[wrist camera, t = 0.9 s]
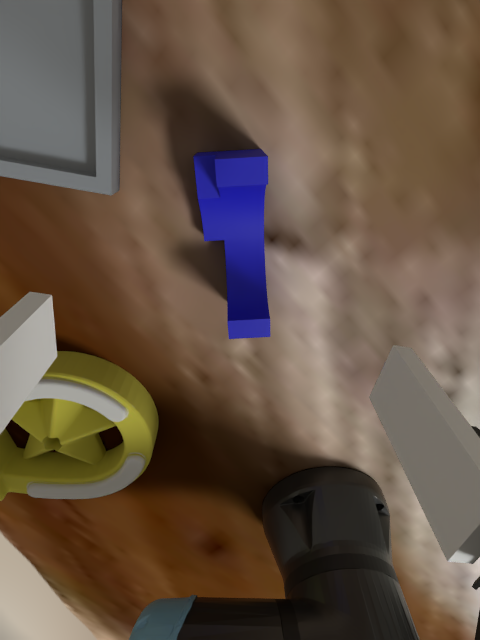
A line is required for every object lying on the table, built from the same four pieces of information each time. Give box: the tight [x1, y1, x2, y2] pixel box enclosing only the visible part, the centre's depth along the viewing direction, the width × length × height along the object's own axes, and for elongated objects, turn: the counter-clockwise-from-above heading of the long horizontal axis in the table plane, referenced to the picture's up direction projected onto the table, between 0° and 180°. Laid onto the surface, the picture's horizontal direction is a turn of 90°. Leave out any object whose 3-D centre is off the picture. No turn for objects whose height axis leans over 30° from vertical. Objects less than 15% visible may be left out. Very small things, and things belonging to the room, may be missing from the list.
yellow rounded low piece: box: [0, 351, 159, 501], centre depth 36 cm, size 16×21×5 cm
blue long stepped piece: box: [193, 149, 270, 339], centre depth 26 cm, size 12×4×6 cm, turn 3°
